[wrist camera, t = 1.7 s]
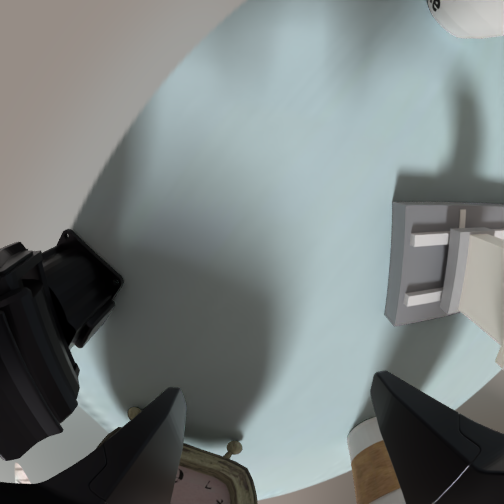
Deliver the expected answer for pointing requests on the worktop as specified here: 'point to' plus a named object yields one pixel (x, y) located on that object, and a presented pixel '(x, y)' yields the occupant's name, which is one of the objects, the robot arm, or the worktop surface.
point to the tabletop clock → (208, 475)
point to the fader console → (428, 253)
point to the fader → (476, 281)
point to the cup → (469, 17)
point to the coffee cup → (372, 466)
